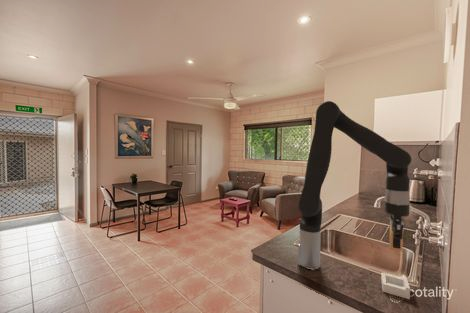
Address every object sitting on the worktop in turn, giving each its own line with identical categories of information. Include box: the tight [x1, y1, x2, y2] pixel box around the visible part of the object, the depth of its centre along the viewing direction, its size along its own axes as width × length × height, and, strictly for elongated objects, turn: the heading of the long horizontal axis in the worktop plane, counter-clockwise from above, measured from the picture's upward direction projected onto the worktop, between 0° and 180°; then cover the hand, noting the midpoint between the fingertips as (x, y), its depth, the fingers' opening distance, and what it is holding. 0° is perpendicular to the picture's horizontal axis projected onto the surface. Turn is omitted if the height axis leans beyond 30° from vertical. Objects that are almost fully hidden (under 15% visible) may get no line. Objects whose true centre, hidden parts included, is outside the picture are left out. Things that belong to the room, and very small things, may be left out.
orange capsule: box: [388, 226, 404, 252], centre depth 81 cm, size 4×4×8 cm
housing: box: [380, 272, 411, 300], centre depth 82 cm, size 8×9×4 cm
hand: (395, 245), depth 81 cm, fingers closed on orange capsule, 4 cm apart
